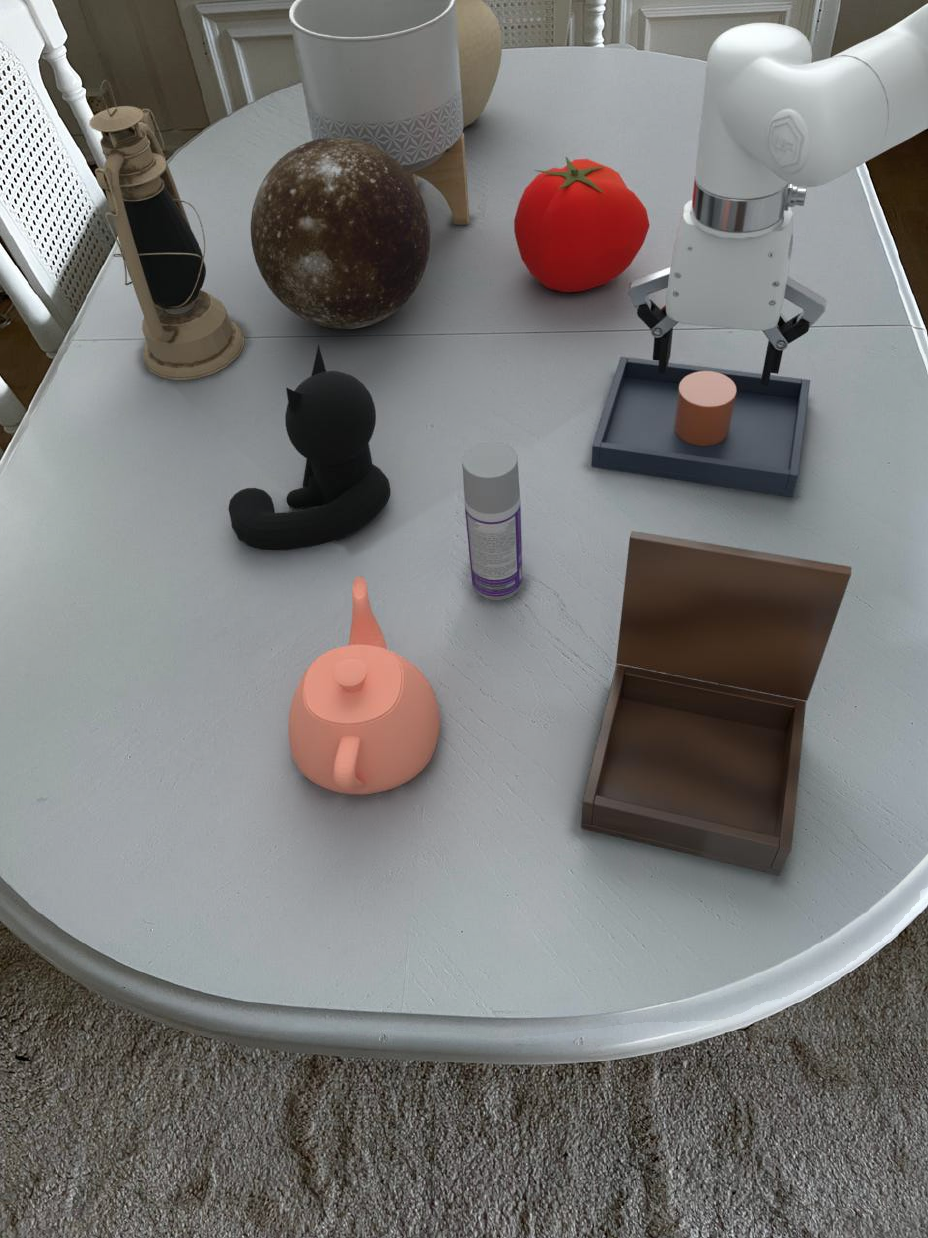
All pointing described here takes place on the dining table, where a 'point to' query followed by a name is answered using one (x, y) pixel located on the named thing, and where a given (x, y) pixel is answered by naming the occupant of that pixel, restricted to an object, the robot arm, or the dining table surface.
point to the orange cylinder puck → (704, 408)
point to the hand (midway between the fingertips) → (714, 370)
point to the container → (493, 518)
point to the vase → (477, 55)
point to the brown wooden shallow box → (697, 768)
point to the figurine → (320, 468)
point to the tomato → (579, 226)
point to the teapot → (363, 712)
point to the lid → (728, 614)
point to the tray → (743, 460)
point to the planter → (388, 83)
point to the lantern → (161, 251)
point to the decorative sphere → (340, 233)
